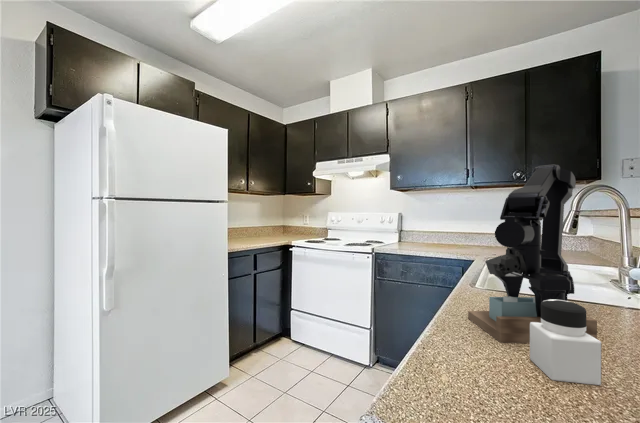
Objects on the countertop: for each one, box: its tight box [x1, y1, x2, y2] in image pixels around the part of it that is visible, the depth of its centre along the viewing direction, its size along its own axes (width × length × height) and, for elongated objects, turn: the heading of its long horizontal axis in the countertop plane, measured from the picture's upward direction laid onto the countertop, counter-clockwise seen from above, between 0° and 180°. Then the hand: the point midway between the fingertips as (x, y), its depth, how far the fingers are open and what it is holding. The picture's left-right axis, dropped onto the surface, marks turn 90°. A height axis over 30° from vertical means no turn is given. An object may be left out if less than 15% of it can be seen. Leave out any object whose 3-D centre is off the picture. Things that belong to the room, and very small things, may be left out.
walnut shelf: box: [467, 310, 598, 344], centre depth 68 cm, size 20×14×5 cm
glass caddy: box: [488, 295, 537, 321], centre depth 68 cm, size 14×5×6 cm, turn 88°
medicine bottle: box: [529, 299, 602, 386], centre depth 50 cm, size 7×7×12 cm
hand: (525, 310), depth 68 cm, fingers open, 9 cm apart
